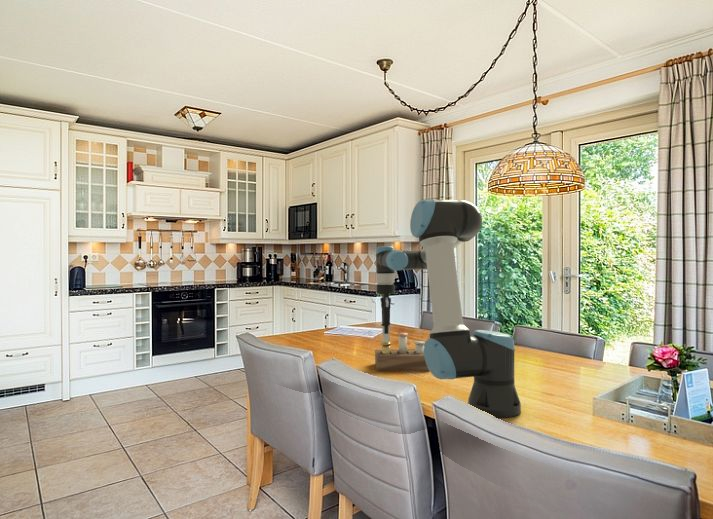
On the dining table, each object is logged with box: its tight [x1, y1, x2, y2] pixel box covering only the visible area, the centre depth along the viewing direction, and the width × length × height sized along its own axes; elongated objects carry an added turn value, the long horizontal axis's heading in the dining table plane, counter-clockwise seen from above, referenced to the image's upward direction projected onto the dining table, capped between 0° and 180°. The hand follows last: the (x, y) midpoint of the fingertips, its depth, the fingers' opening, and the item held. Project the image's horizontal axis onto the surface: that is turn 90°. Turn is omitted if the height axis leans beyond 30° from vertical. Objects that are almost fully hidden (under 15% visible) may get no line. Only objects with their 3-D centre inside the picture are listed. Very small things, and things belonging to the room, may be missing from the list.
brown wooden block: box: [374, 348, 429, 372], centre depth 187 cm, size 12×22×6 cm, turn 92°
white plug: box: [397, 332, 409, 354], centre depth 187 cm, size 4×4×9 cm
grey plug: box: [414, 340, 426, 353], centre depth 187 cm, size 4×4×9 cm
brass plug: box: [380, 341, 392, 354], centre depth 187 cm, size 4×4×9 cm
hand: (386, 341), depth 187 cm, fingers closed
